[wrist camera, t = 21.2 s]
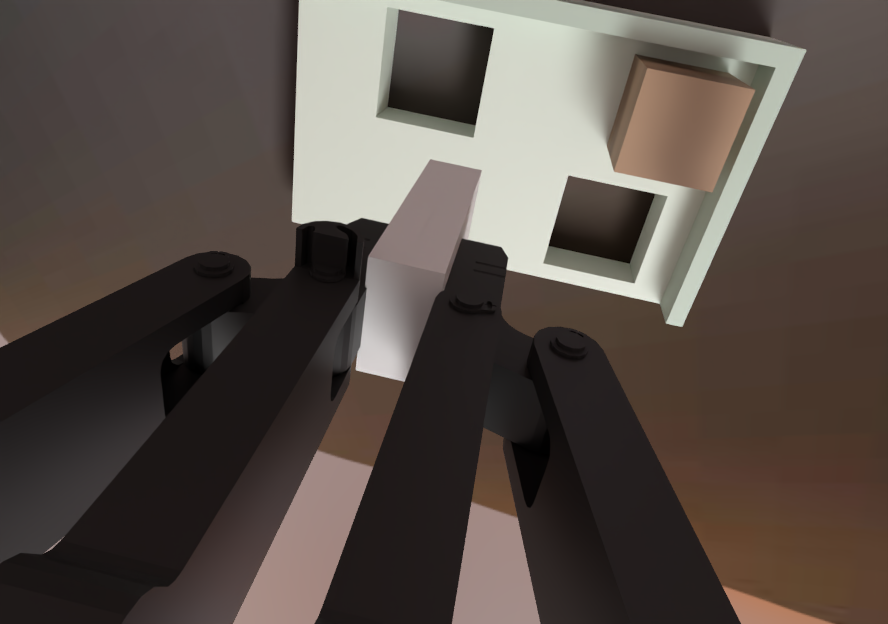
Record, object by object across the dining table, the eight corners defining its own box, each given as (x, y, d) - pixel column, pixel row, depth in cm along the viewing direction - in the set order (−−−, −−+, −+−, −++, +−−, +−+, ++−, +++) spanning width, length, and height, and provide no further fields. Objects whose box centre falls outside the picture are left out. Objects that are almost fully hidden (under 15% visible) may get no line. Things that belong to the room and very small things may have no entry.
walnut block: (606, 145, 35) (613, 171, 30) (635, 54, 32) (647, 68, 28) (692, 163, 34) (712, 192, 30) (728, 72, 32) (755, 89, 27)
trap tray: (307, 206, 43) (277, 236, 38) (319, -52, 34) (282, -54, 30) (667, 285, 41) (681, 326, 37) (770, 37, 33) (806, 49, 28)
